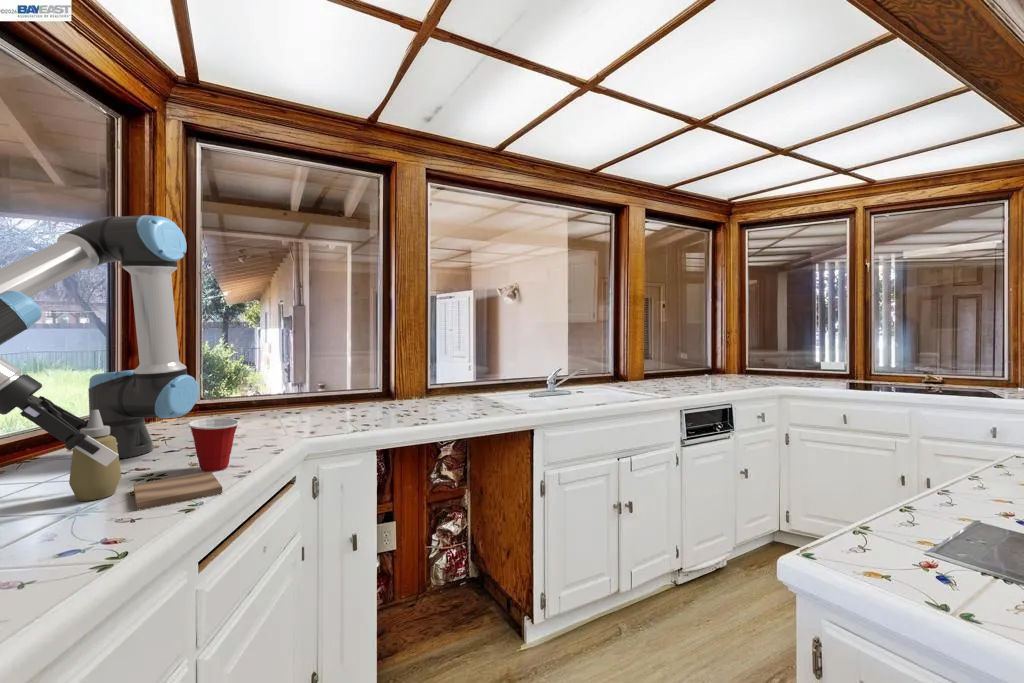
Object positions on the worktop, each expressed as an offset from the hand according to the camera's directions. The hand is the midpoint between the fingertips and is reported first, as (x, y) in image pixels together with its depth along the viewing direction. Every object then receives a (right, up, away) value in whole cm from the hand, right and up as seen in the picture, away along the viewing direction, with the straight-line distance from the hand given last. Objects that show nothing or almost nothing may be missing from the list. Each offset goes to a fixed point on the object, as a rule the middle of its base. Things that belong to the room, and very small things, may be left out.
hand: (112, 454), depth 97 cm
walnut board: (+13, -8, +1) cm, 16 cm away
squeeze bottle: (-2, -9, -2) cm, 9 cm away
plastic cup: (+10, -8, +18) cm, 22 cm away
